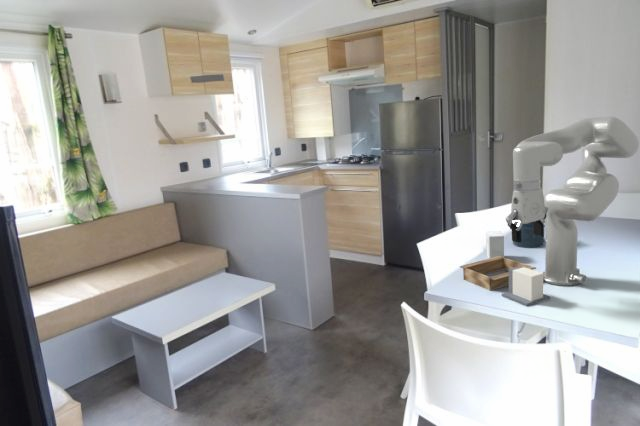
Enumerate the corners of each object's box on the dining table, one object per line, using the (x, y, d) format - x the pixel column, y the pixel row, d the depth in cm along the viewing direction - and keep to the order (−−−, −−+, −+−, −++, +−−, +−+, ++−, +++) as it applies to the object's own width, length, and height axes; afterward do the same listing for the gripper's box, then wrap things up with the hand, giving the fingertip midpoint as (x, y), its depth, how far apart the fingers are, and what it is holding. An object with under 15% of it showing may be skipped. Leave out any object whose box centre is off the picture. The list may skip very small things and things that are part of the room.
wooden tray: (536, 279, 158) (536, 267, 157) (494, 292, 151) (494, 279, 150) (499, 267, 173) (498, 256, 172) (459, 278, 166) (459, 266, 165)
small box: (504, 261, 179) (504, 236, 177) (489, 261, 180) (489, 236, 178) (500, 255, 186) (500, 230, 184) (486, 255, 188) (486, 231, 186)
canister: (538, 239, 204) (538, 200, 200) (549, 247, 191) (550, 206, 188) (508, 240, 205) (508, 202, 202) (517, 249, 193) (517, 208, 189)
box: (543, 297, 141) (543, 273, 140) (531, 301, 140) (531, 276, 138) (520, 288, 150) (520, 265, 148) (508, 292, 148) (508, 269, 146)
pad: (549, 298, 142) (550, 296, 142) (526, 306, 138) (526, 303, 138) (524, 289, 151) (524, 286, 151) (501, 295, 147) (501, 293, 147)
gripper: (516, 192, 133) (517, 247, 137) (556, 181, 140) (557, 234, 144) (496, 189, 140) (498, 242, 143) (536, 179, 146) (536, 230, 150)
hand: (527, 238), depth 143 cm, fingers open, 9 cm apart
